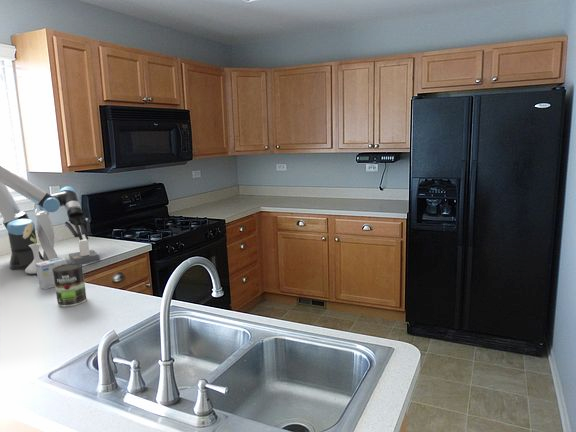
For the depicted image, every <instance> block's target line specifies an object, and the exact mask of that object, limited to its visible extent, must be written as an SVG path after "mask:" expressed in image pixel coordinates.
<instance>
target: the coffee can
mask: <svg viewBox="0 0 576 432" xmlns="http://www.w3.org/2000/svg"><path fill="white" fill-rule="evenodd" d="M52 271H53V275H54V282H55V293H56V295H55V296H56V299H57V306H58V307H62V308H68V307H75V306H78V305H81V304H83V303H85V302H86V301H87V299H88V298H87V293H86V287H85V286H86V285H85V276H84V269H83V263H82V264H78V263H67V264H65V265H61V266H57V267H55V268H53V269H52Z"/></svg>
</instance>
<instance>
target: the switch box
mask: <svg viewBox="0 0 576 432" xmlns="http://www.w3.org/2000/svg"><path fill="white" fill-rule="evenodd" d="M89 252H90V255H86V256H81V255H80V251H77V252H72V253H68V258H69V259H68V260H69V261H70V262H71V264H73V263H78V264H82V265H83V264H87V263H92V262H97V261H100V254H99V253H98V252H97V251H96V250H94V249H89Z"/></svg>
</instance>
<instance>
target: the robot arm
mask: <svg viewBox="0 0 576 432" xmlns="http://www.w3.org/2000/svg"><path fill="white" fill-rule="evenodd" d="M8 188H10V189H11V190H13V191H14V192H16V193H18V194H20V196H22V197H24V198H26V199H28V200H29V201H31V202H33V203H34V204H36V205H38V208H39V210H40V211H45V212H47V211H48V212H49V213H55V212H57V211H58V210H59V209H60V208H61V207H64V208H65V212H66V215H67V218H68V220H67V221H65V223H64V224H65V227H67V228H68V230H69V231H70V232H71V234H72V235H73V236H74V238H78V239H79V240H84V239H87V240H88V241H89V236H90V234H91V233H90V232H91V229H90V227H91V226H90V223H91V220H92V219H91V217H86V216H85V215H84V213H83V210H82V207H81V204H80V201H79V199H78V196H77V193H76V191H75V189H74V188H73V187H72V186H70V185H69V186H67V185H66V186H64V187H62V188H60V190H59V192H57V193H53V194H49V193H48V192H47V191H45V190H44V189H42V188H41V187H39V186H38V185H36V184H34V183H33V182H30V180H28V179H26V178H25V177H23V176H22V175H19V174H18V173H16V171H13V170H12V169H10V168H9V167H7V166H5V165H4V164H2V163H1V162H0V215H1V216H2V218H3V220H2V224H3V226H4V227H5V229H6V231H7V233H8V239H9V245H10V251H11V254H10V255H11V256H10V260H9V269H10V270H12V271H13V270H15V271H18V270H25V269H26V268H27V267H28V266H29V265H30V264H31V263H32V262H33V260H34V254H33V251H32V249H31V248H30V247H29V245H31V244H34V242H33V241H31V240H30V238H31V237H32V238H34V236H35V238H34V239H36V243H38V241H37V234H36V229H35V228H36V226H35V223H34V221H33V220H32V219H31V218H30V217H29V216H28V214H27V213H26V212H24V211H22V210H21V208H20V207H19V206H18V204H17V202H16V200H15V199H14V197H13V195H12V194H11V192H10V191H9V189H8ZM85 222H86V228H85V225H84V223H85ZM28 223H29V224H30V223H32V224H33V229H32V233H33V235H34V236H33V235H32V233H31V234H30V235H29V237H28V238H26V239H24V238H23V235H24V234H23V232H24V229H25V226H26V227H27V225H28ZM73 226H74V227H75V228H74V227H73ZM75 229H76V230H75ZM81 231H82V232H81ZM39 257H40V259H41V260H43V261H44V259H43V255H42V253H41V251H40V250H39Z"/></svg>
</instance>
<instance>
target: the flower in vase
mask: <svg viewBox="0 0 576 432" xmlns="http://www.w3.org/2000/svg"><path fill="white" fill-rule="evenodd" d="M32 229H33V224H32V223H30V224H29V223H28V225H27V227H26V226H25V229H24V232H23V234H24V235H23V238H24V239H26V238H28V237H29V235H30V234H31V233H32ZM32 235H33V233H32ZM33 236H34V235H33ZM34 238H35V236H34ZM34 238H32V237H31V238H30V240H31V241H33V242H34V244H31V245H29V247H30V248H31V249H32V251H33V254H34V260H33V262H32V263H31V264H30V265H29V266H28V267H27V268H26V269H24V272H25V273H26V274H29V275H35V274H36V275H37V270H36V265H35V263H40V262H44V261H43V260H41V259H40V257H39V251H40V246H41V243H40V242H39V243H38V242H37V243H36V239H37V238H36V239H34Z"/></svg>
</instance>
